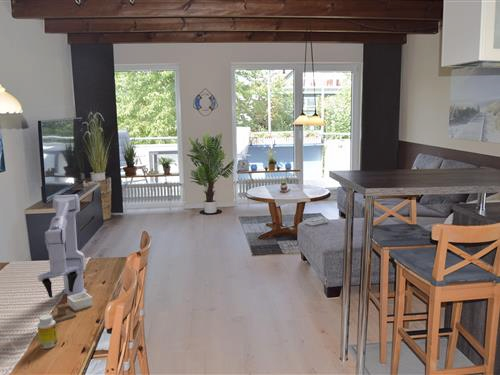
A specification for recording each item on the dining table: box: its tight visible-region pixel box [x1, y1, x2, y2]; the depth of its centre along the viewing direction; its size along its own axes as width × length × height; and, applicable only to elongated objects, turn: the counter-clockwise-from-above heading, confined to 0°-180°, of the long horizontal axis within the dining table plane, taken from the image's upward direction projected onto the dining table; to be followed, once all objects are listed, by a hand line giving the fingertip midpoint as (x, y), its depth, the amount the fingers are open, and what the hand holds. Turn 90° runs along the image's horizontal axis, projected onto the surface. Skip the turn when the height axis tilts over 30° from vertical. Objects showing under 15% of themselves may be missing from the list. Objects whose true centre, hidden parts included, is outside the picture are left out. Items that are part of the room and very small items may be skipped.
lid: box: [48, 303, 77, 324], centre depth 176 cm, size 8×8×4 cm
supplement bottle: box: [37, 314, 58, 349], centre depth 154 cm, size 6×6×10 cm
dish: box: [66, 292, 94, 312], centre depth 186 cm, size 8×8×4 cm
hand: (60, 294), depth 175 cm, fingers open, 7 cm apart
